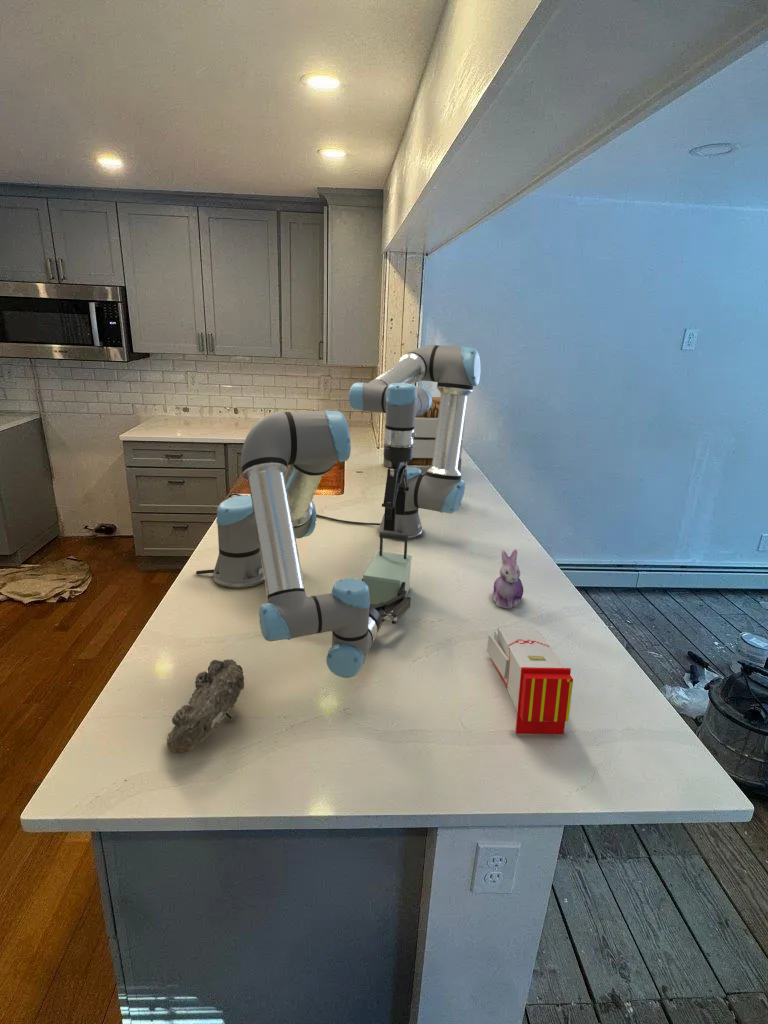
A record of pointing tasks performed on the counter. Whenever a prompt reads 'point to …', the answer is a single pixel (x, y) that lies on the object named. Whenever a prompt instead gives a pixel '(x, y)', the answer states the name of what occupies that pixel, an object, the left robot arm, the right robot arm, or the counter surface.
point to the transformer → (426, 437)
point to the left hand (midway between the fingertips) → (384, 583)
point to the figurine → (508, 583)
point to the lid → (389, 562)
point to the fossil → (206, 705)
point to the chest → (386, 588)
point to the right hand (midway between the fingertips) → (394, 521)
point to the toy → (532, 679)
